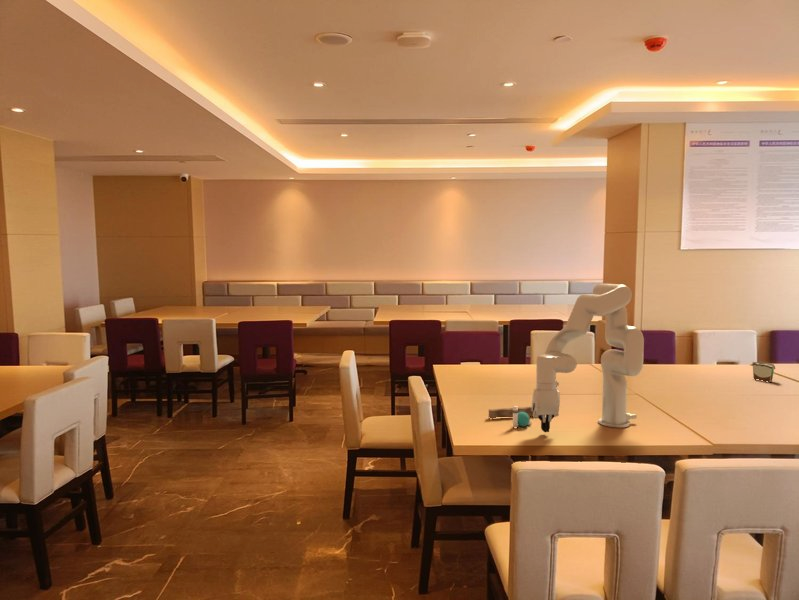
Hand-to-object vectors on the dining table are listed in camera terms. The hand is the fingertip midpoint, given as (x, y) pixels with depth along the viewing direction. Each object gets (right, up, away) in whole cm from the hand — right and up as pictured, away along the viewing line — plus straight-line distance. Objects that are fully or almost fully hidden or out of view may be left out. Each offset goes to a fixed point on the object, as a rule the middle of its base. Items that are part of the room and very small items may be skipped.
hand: (545, 431), depth 218 cm
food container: (+149, +6, +91) cm, 174 cm away
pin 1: (-10, -1, +9) cm, 14 cm away
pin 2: (-3, 0, +12) cm, 12 cm away
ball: (-7, +2, +11) cm, 13 cm away
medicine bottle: (+14, +2, +45) cm, 47 cm away
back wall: (-7, 0, +24) cm, 25 cm away
